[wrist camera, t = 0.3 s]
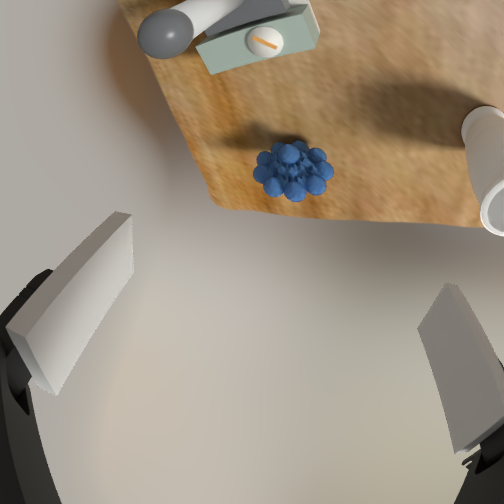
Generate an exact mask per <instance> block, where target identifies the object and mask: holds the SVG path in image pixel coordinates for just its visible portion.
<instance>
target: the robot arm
mask: <svg viewBox="0 0 504 504" xmlns="http://www.w3.org/2000/svg"><path fill="white" fill-rule="evenodd" d="M133 272H134V268H133V243H132V215H131V214H126V213H121V212H116V211H115V212H114V213H113V214H112V215H111V216H109V217H108V218H107V219H106V220H105V221H104V222H103V223H102V224H101V225H100V226H99V227H97V228H96V229H95V230H94V231H93V232H92V233H91V234H90V235H89V236H88V237H87V238H86V239H85V240H84V241H83V242H82V243H81V244H80V245H79V246H78V247H77V248H76V249H75V250H74V251H73V252H72V253H71V254H70V255H69V256H68V257H67V258H66V259H65V260H64V261H63V262H62V263H61V264H60V265H59V266H58V267H57V268H56V269H55V270H54V271H53V270H50V269H47V270H45V271H43V272H41V273H40V274H38V275H36V276H35V277H34V278H33V279H32V280H31V281H30V282H29V283H28V284H27V286H26V288H24V289H23V290H22V291H21V292H20V293H19V296H17V297H16V298H15V299H14V300H13V301H12V302H11V303H10V305H9V306H8V307H7V308H6V309H5V310H4V311H3V313H2V314H1V315H0V504H62V503H61V501H60V498H59V496H58V493H57V490H56V488H55V485H54V482H53V479H52V476H51V473H50V470H49V467H48V464H47V461H46V458H45V454H44V451H43V447H42V443H41V439H40V435H39V431H38V427H37V423H36V418H35V413H34V409H33V404H32V398H31V392H30V388H29V386H28V382H29V380H30V378H31V377H32V378H33V379H34V381H35V383H36V384H37V386H38V387H39V388H41V389H43V390H45V391H47V392H49V393H51V394H53V395H55V396H57V395H58V393H59V391H60V389H61V387H62V386H63V384H64V382H65V380H66V379H67V377H68V375H69V373H70V372H71V370H72V368H73V366H74V364H75V363H76V361H77V360H78V358H79V356H80V354H81V353H82V351H83V350H84V348H85V346H86V345H87V343H88V341H89V340H90V338H91V336H92V335H93V333H94V332H95V330H96V328H97V327H98V325H99V324H100V322H101V320H102V319H103V317H104V316H105V314H106V313H107V311H108V310H109V308H110V306H111V305H112V303H113V302H114V300H115V299H116V297H117V296H118V294H119V293H120V291H121V290H122V289H123V287H124V286H125V284H126V283H127V281H128V280H129V278H130V277H131V275H132V274H133ZM417 329H418V332H419V334H420V337H421V340H422V342H423V345H424V348H425V351H426V354H427V357H428V360H429V362H430V366H431V369H432V372H433V375H434V378H435V381H436V384H437V388H438V391H439V394H440V398H441V401H442V405H443V408H444V412H445V416H446V420H447V423H448V428H449V431H450V435H451V440H452V444H453V449H454V454H458V453H463V452H468V451H470V450H471V449H472V448H474V447H475V446H477V445H478V444H479V443H480V447H481V449H480V450H478V451H477V452H475V453H474V454H473V455H471V456H470V457H468V458H467V459H465V460H464V461H463V462H462V465H465V464H466V463H467V462H469V461H472V462H471V463H470V464H468V465H467V466H466V468H468V469H469V471H468V473H467V476H466V478H465V481H464V483H463V485H462V487H461V490H460V492H459V494H458V496H457V498H456V500H455V502H454V504H504V367H503V365H502V363H501V362H500V361H499V359H498V358H497V356H496V354H495V352H494V350H493V347H492V345H491V343H490V342H489V340H488V338H487V336H486V334H485V332H484V330H483V328H482V326H481V324H480V323H479V321H478V319H477V317H476V315H475V314H474V312H473V310H472V308H471V307H470V305H469V303H468V302H467V300H466V298H465V296H464V295H463V293H462V291H461V290H460V288H459V286H458V285H455V284H450V283H445V284H444V286H443V288H442V289H441V291H440V293H439V295H438V296H437V298H436V300H435V301H434V303H433V305H432V306H431V308H430V309H429V311H428V313H427V314H426V316H425V317H424V319H423V320H422V322H421V323H420V325H419V326H418V328H417Z"/></svg>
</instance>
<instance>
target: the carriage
mask: <svg viewBox="0 0 504 504" xmlns="http://www.w3.org/2000/svg"><path fill="white" fill-rule="evenodd" d="M290 7H291V5H290V3H289V1H288V0H186V1H184V2H182V3H180V4H178V5H176V6H174V7H172V8H170V9H161V10H158V11H155V12H153V13H152V14H150V15H148V16H147V17H146V18H145V19H144V20H143V22H142V23H141V25H140V27H139V30H138V34H137V39H138V44H139V46H140V48H141V49H142V51H143V52H144V53H146V54H147V55H149V56H150V57H153V58H156V59H169V58H173V57H175V56H178V55H179V54H181V53H182V52H184V51H185V50H186V49H187V48H188V46H189V45H190V43H191V42H192V39H194V38H195V37H196V36H198V35H199V34H200V33H202V32H203V31H204V32H205V33H206V35H207V37H208V36H210V35H213V34H216V33H218V32H221V31H224V30H227V29H230V28H232V27H235V26H238V25H242V24H245V23H248V22H251V21H254V20H258V19H261V18H265V17H268V16H272V15H276V14H280V13H284V12H287V11H288V10H289V9H290Z"/></svg>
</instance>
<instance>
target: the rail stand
mask: <svg viewBox="0 0 504 504" xmlns="http://www.w3.org/2000/svg"><path fill="white" fill-rule="evenodd" d="M288 1H289V3H290V5H291V7H290V9H289V10H288V11H287V12H284V13H280V14H276V15H272V16H268V17H265V18H261V19H258V20H254V21H251V22H248V23H245V24H242V25H238V26H235V27H232V28H230V29H227V30H224V31H221V32H218V33H216V34H213V35H210V36H208V37H207V38H206V39H204V40H203V41H202V42H201V43H199V44H198V45H197V46H196V49H197V51H198V52H199V54H200V56H201V58H202V60H203V61H204V63H205V65H206V67H207V69H208V70H209V72H210V74H211V75H213V74H216V73H219V72H222V71H225V70H229V69H232V68H235V67H239V66H242V65H246V64H249V63H253V62H257V61H261V60H265V59H269V58H273V57H277V56H281V55H286V54H291V53H295V52H300V51H306V50H311V49H315V47H316V44H317V40H318V37H319V33H320V29H319V26H318V23H317V21H316V18H315V15H314V13H313V10H312V7H311V5H310V2H309V0H288Z"/></svg>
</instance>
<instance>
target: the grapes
mask: <svg viewBox="0 0 504 504" xmlns="http://www.w3.org/2000/svg"><path fill="white" fill-rule="evenodd" d="M326 159H327V158H326V154H325V153H324V151H323V150H321V149H319V148H311V149H310V150H309V147H308V145H307V144H306V143H304V142H302V141H295V142H293V143H292V144H284V143H282V142H277V143H275V144H274V145H273V146H272V147H271V153H270V152H267V151H263V152H261V153H260V154H259V155H258V156H257V159H256V160H257V164H258V166H257V167H256V168H255V169H254V171H253V177H254V178H255V180H256V181H257V182H259V183H261V184H263V188H264V191H265V192H266V193H267V194H268V195H269V196H271V197H279V196H280V195H281V194H283V193H284V195H285V196H286V197H287V199H289V200H291V201H292V202H300V201H301V200H303V199H304V198H305V196H306V194H307V193H306V190H307V192H309V193H311V194H312V195H321V194H322V193H323V192H324V191H325V190H326V187H327V186H326V182H325V181H326V180H329V179H330V178H332V177H333V174H334V170H333V167H332V166H331V165H330V164H329V163H328V162H326Z"/></svg>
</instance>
